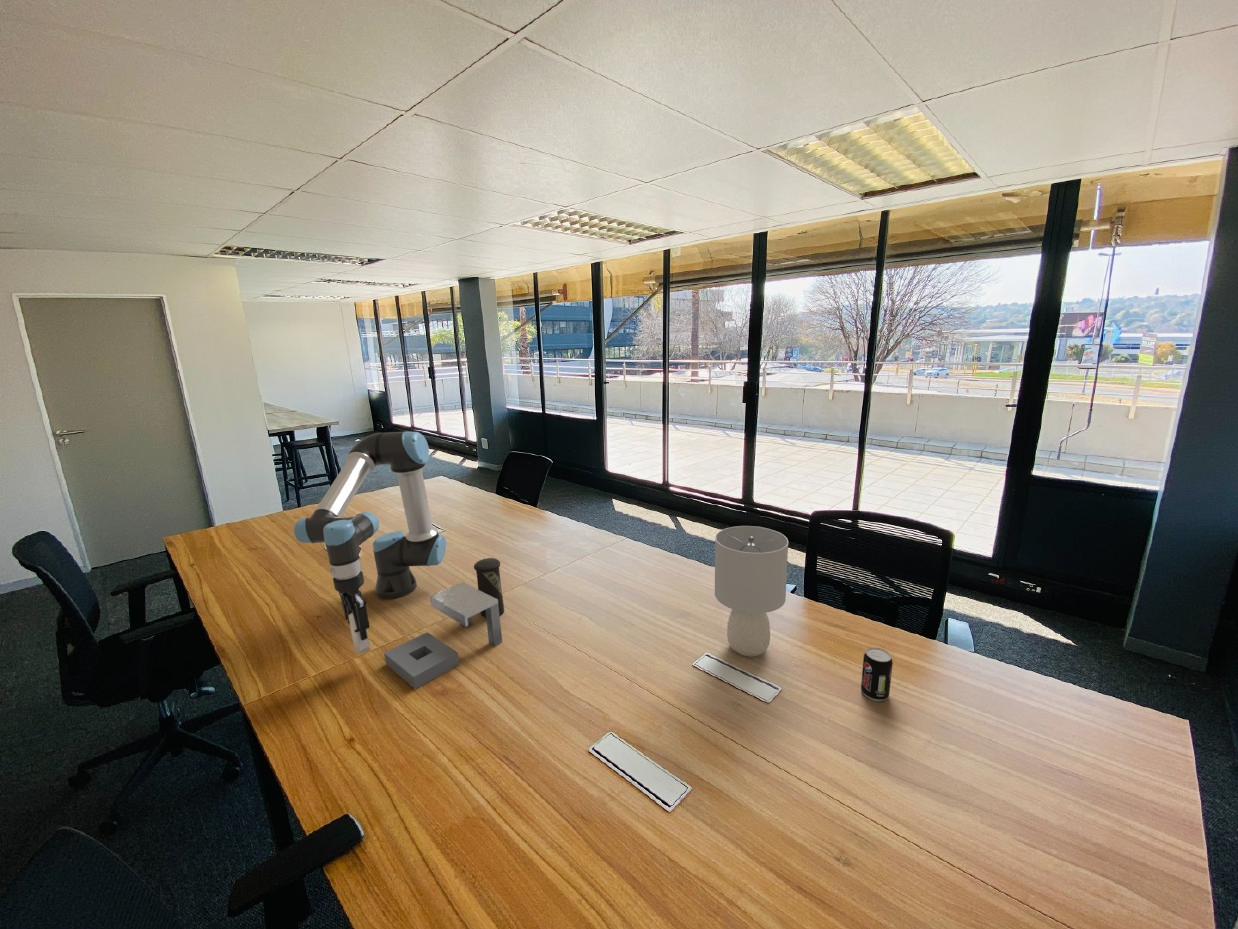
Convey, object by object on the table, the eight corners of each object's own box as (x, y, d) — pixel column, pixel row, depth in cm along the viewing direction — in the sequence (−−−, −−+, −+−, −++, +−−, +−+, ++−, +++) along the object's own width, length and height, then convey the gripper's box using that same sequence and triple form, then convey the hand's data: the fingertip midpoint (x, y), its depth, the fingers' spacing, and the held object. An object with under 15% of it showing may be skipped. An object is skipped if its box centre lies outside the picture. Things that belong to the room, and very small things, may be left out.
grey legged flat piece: (435, 637, 163) (429, 596, 159) (467, 621, 172) (462, 582, 168) (470, 660, 150) (464, 615, 146) (502, 642, 159) (497, 599, 155)
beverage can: (887, 706, 125) (892, 665, 122) (859, 697, 129) (862, 657, 126) (889, 691, 131) (894, 651, 128) (862, 682, 134) (865, 643, 131)
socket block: (386, 664, 150) (384, 653, 149) (428, 643, 160) (427, 632, 159) (415, 689, 138) (413, 677, 137) (459, 664, 148) (458, 652, 148)
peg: (353, 650, 147) (346, 615, 144) (366, 644, 149) (359, 609, 146) (358, 655, 145) (351, 619, 141) (371, 649, 147) (364, 613, 144)
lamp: (783, 636, 156) (788, 527, 148) (782, 676, 138) (787, 554, 129) (719, 626, 163) (720, 521, 154) (709, 663, 144) (710, 546, 136)
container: (498, 620, 172) (493, 567, 167) (475, 618, 174) (469, 566, 169) (509, 607, 180) (504, 556, 175) (486, 605, 182) (480, 555, 177)
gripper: (322, 570, 143) (337, 641, 149) (345, 588, 133) (360, 662, 139) (349, 561, 149) (362, 629, 155) (373, 577, 138) (387, 649, 144)
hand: (361, 645), depth 147 cm, fingers closed on peg, 3 cm apart
